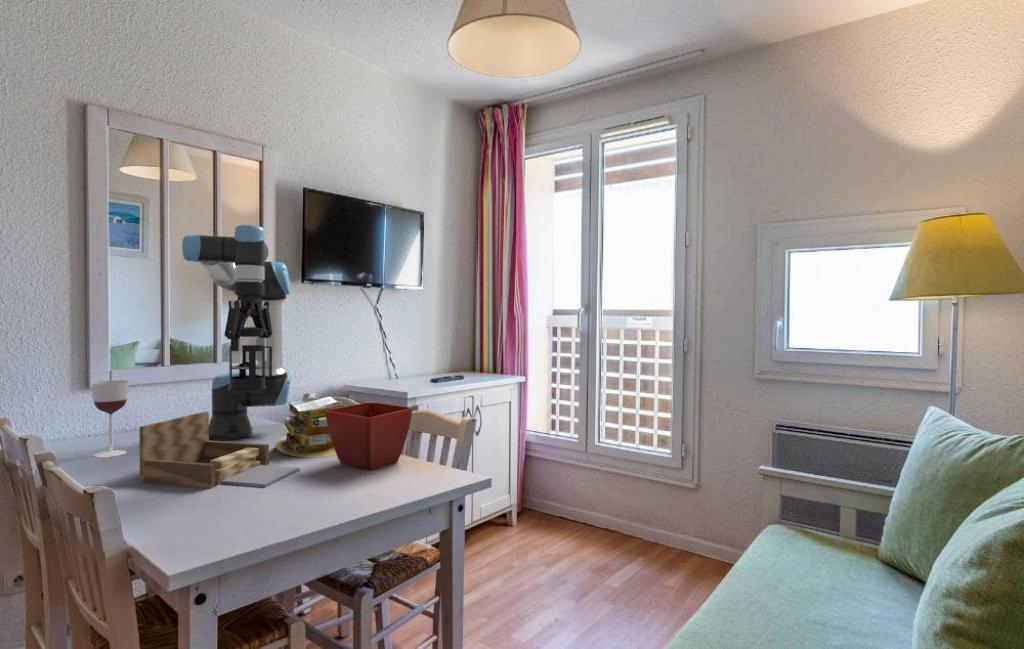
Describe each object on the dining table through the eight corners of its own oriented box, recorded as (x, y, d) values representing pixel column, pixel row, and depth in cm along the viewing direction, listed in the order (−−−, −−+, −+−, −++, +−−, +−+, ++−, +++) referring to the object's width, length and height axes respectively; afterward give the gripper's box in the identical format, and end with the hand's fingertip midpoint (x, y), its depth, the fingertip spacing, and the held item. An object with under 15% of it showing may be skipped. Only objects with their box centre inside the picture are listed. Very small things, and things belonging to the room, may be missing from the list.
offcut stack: (246, 466, 168) (246, 446, 167) (260, 467, 167) (260, 447, 167) (203, 485, 150) (203, 462, 150) (219, 486, 149) (219, 463, 149)
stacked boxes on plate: (358, 453, 184) (359, 402, 184) (277, 460, 174) (277, 407, 174) (347, 437, 207) (348, 392, 206) (275, 443, 196) (275, 395, 196)
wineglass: (84, 455, 177) (84, 383, 176) (117, 448, 186) (117, 379, 186) (103, 458, 173) (103, 384, 173) (136, 451, 183) (135, 381, 182)
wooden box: (205, 459, 174) (205, 411, 174) (268, 464, 170) (268, 414, 169) (139, 482, 151) (139, 426, 150) (211, 488, 146) (211, 431, 146)
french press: (231, 392, 149) (231, 306, 149) (221, 388, 156) (221, 306, 156) (276, 388, 157) (277, 306, 156) (265, 385, 164) (265, 307, 163)
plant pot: (368, 476, 159) (368, 416, 158) (323, 465, 169) (323, 410, 168) (413, 461, 175) (414, 407, 174) (370, 452, 185) (370, 401, 185)
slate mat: (260, 467, 166) (260, 464, 166) (299, 470, 163) (299, 467, 163) (221, 483, 150) (221, 480, 150) (265, 487, 147) (265, 484, 147)
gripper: (263, 283, 168) (263, 358, 168) (208, 279, 146) (208, 364, 146) (285, 283, 166) (285, 359, 166) (233, 278, 144) (233, 365, 145)
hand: (249, 361), depth 156 cm, fingers closed on french press, 9 cm apart
